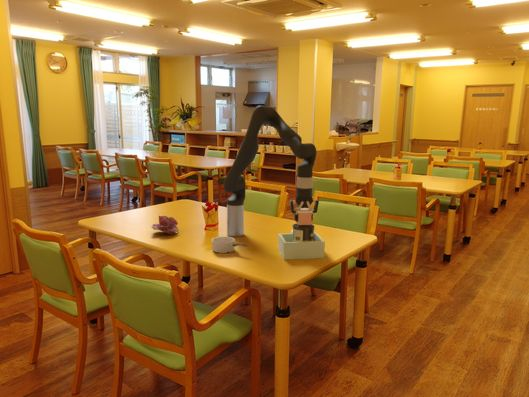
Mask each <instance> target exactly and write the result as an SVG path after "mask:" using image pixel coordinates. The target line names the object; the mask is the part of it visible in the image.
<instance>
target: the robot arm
mask: <svg viewBox="0 0 529 397" xmlns="http://www.w3.org/2000/svg"><path fill="white" fill-rule="evenodd" d="M262 125H264V126H271V127H272V128H274V129H275V130H276V132H277V134H278V136H279V138H280V139H281V140H282V142H283V143H285V145H287V146H288V147H289V148H290V150H291V152H292V153H293V155H294V157H296V158H297V159H299V160H303V161H302V163H300V164H298V165H297V170H296V172H297V175H296V184H295V186H296V187H295V188H296V189H295V190H296V192H295V199H289V209H290V213H292V214H293V215H294V221H295V223H296V222H298V210H299V211H300V209H301V208H308V209H309V210H311V211H312V216H311V222H312V221H313V219H314V218H313V216H314V214H315V213H316V214H317V212H318V207H319V202H320V201H319V199H314V198H313V188H314V187H313V186H314V184H313V183H314V181H313V175H314V174H313V173H314V172H313V168H314V165H315V162H316V157H317V153H318V152H317V148H316V146H315V144H313V143H311V142H309V143H307V142H306V143H302V142H303V139H302V137H301V135H299V134H298V133H297V132H296V131H295V130H294V129H293V128H292V127H290V126H289V124H287V122H285V120H284V119H283V118H282V117H281V115H280V114H279V112H278V111H277V110H276V109H275V108H274V107H273V106H267V105H257V106H256V107H255V108H254V109H253V111H252V114H251V117H250V121H249V123H248V127H247V130H246V133H245V135H244V137H243V140H242V142H241V144H240V147H239V148H238V152H237V153H236V156H235V158H234V161H233V163H232V166H231V167H230V169H229V171H228V173H227V174H226V176H225V178H224V181H223V189H224V191H225V192H226V193H230V194H231V195H230V196H229V197H228V198H227V199H226V237H233V238H235V237H242V236H244V235H245V233H244V232H245V223H244V222H245V217H244V216H245V214H244V213H245V211H244V209H245V205H244V202H245V200H246V189H247V188H246V184H247V183H246V179H245V178H244V176H243V175H242V174H244V171H245V170H246V169H247V168H248V167H250V165H251V164H252V163H253V162H254V160H255V159H256V156H257V155H258V154H257V153H258V152H259V149H260V148H259V147H260V144H259V132H260V130H261V128H262ZM295 203H296V207H295V206H294V205H295ZM312 204H313V209H312V206H311V205H312Z"/></svg>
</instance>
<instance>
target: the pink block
mask: <svg viewBox="0 0 529 397" xmlns="http://www.w3.org/2000/svg"><path fill="white" fill-rule="evenodd" d="M311 216H312V211H311V210H309V209H308V208H301V209H300V211H299V210H298V222H296V221H295V224H298V225H311V224H312V221H311Z"/></svg>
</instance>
